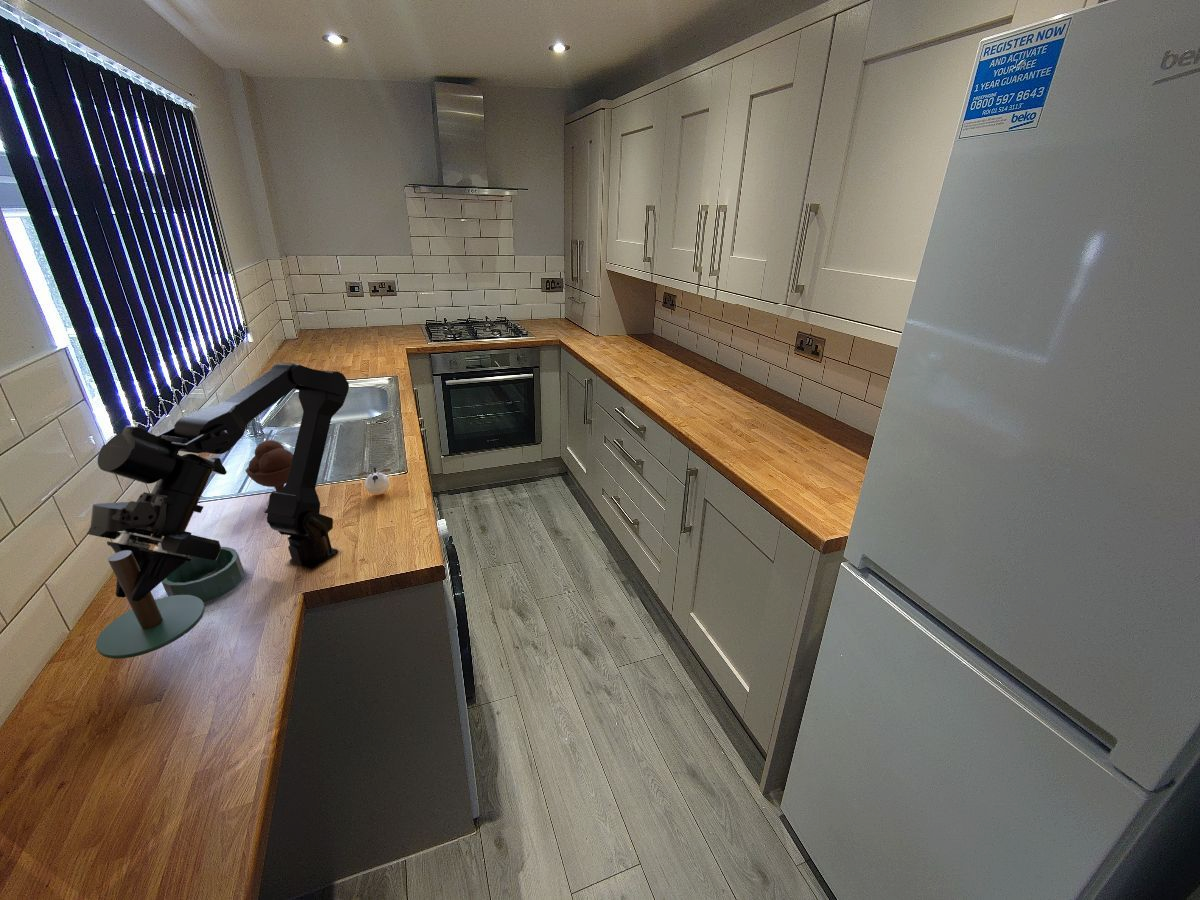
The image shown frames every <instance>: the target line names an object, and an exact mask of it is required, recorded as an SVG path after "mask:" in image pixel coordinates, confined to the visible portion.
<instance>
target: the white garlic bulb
mask: <svg viewBox="0 0 1200 900" xmlns="http://www.w3.org/2000/svg"><path fill="white" fill-rule="evenodd" d="M372 469H373V473H372V472H367V471H363V472H360V473H358V474H357V477H361V476H365V475H368V476H367V477H366V478H365V482H364V483H365V484H364V487H365V489H366V491H367V492H368V493H369V494H371V495H374V496H379V495H383V494H385V493H386V492H387V491H388V489H389V488H390V479H389V477H388V476H387V475H386V474H385V473H388V472H392V471H391V469H390V468H384V469H382V470H380V471H377V467H372Z"/></svg>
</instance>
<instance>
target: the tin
mask: <svg viewBox="0 0 1200 900" xmlns="http://www.w3.org/2000/svg"><path fill="white" fill-rule="evenodd" d="M188 558H192V560H191V562H189V561H187V562H186V563H184V564H183V565H182V566H180V567H179V568H178V569H177V570H175V571H174V572H173V573H171V574H170V575H169V576H168V577H166V578H165V579H164V580H163V581H162V582H161V584H162V586H163V589H164V591H165V593H166V595H167V596H166V597H168V596H174V595H193V596H196V597H198V598H200V599H201V600H202V601H203V603H204V604H205V603H208V602H210V601H213V600H215V599H217V598H220V597H222V596H225V594H227V593H229V592H230V591H232V590H234V589H235V588H236V587H237V586H238V585H239V584H240V583H242V581H243V580H244V578H245V574H246V572H245V569H244V566H243V564H242V561H241V559H240V555H239V553H238V552H237V550H236V549H235V548H233V547H229V546H221V551H220V553H219V555H218V557H217V560H210V559H205V558H200V557H195V556H190V555H189V556H188ZM217 569H219V571H217V572H214V573H213V574H211V575H208V574H210V573H211V572H213V571H215V570H217ZM206 575H208V576H206Z"/></svg>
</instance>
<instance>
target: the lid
mask: <svg viewBox="0 0 1200 900" xmlns="http://www.w3.org/2000/svg"><path fill="white" fill-rule="evenodd" d="M107 561H108V563H109V565H110V567H111V569H112V571H113V574H114V575H115V576H114V577H116V581H117V580H118V582H119V584H120V586H121V588H122V590H123V592H124V594H125V596H126V597H125V598H126V600H127V602H128V604H129V606H130V608H131V609H130V610H128V611H126V612H124V613H123V614H121V615H120V616H118V617H116V618H115V619H114V620H113V621H111V622H110V623H109V624H108V625H107V626H106V627H104V629H103V630H101V632H100V634H99V635H98V637H97V638H96V642H95V648H96V650H97V652H98V653H99V654H100V655H101V656H102V657H104V658H107V659H112V660H113V659H116V660H119V659H129V658H135V657H140V656H142V655H147V654H149V653H152V652H154V651H158V650H159V649H162V648H164V647H166V646H168V645H170V644H172V643H173V642H176V641H177V640H179V639H181V638H182V637H183V636H185V635H186V634H188V633H189V632H190V631H191V630H193V629H194V628H195V627H196V626H197V625H198V624H199V622H200V621H201V620H202V618H203V617H204V615H205V611H206V606H205V602H204V603H203V601H202V600H201V599H200V598H198V597H196V596H193V595H174V596H165V597H160V598H157V599H155V598H154V596H153V594H152V591H150V592H149V593H148V594H147V595H146V596H145V597H144V598H142V599H141V600H140V601H133V600H131V596H132V592H133V589H134V586H135V583H136V581H137V578H138V576H139V573H140V568H139V565H138V563H137V561H136V559H135V557H134V555H133V553H132V551H130V550H124V551H120V552H117V553H115V552H114V553H113V554H111V555H110V556H108V558H107Z"/></svg>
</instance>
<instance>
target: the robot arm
mask: <svg viewBox="0 0 1200 900" xmlns="http://www.w3.org/2000/svg"><path fill="white" fill-rule="evenodd" d="M349 389H350V384H349V381H348V380H347V377H346V376H345V375H344V374H343V373H342V372H340V371H335V370H322V369H315V368H310V367H307V366H304V365H301V364H300V363H295V362H293V363H292V362H278V363H276V364H273V365H272V366H271V369H270V370H268V371H266V372H264V373H263V374H262V375H261V376H259V377H258V378H256V379H255V380H253V381H251V383H249V384H247V385H246V386H245V387H242V389H240V390H239V391H237V392H236V393H234V394H233V395H231V396H230V397H228V398H227V399H225V400H224V401H222V402H220V403H217V404H214V405H210V406H206V407H203V408H199V409H197V410H195V411H193V412H190V413H187V414H186V415H184V416H182V417H180V418H179V419H177V421H176V422H175V423H174V425H173V426H172V427H170V428H168V429H166V430H165V431H163V432H161V433H159V434H157V435H155V434H154V433H151V432H149V431H148V430H147V429H145V428H141V427H139V426H134V425H125V426H124V428H123V430H122V432H120V433H118V434H116V435H114V436H113V437H111V438H110V439H109V440H108V441H107V442H106V443H105V444H103V445H102V446H101V448H100V450H99V452H98V455H97V466H98V468H99V469H100V470H101V471H103V472H106V473H110V474H113V475H116V476H118V477H119V476H120V477H123V478H127V479H130V480H133V481H136V482H140V483H143V484H146V485H148V484H149V485H150V484H154V483H155V485H154V487H153V488H152V491H151V492H143V493H141V494H140V495H139V496H138V498H137V500H136V501H135V500H130V501H118V502H104V503H102V502H101V503H93V504H92V509H91V519H90V520H91V521H90V527H89V528H88V531H87V532H86V535H90V536H94V537H99V538H105V539H109V540H110V539H111V540H113V541H106V545H107V546H109V547H111V549H112V550H113V552H114V554H115V553H117V552H120V551H124V550H130V551H132V553H133V555H134V557H135V559H136V561H137V563H138V565H139V568H140V573H139V576H138V578H137V581H136V583H135V586H134V589H133V592H132V596H131V600H133V601H140V600H141V599H142V598H144V597H145V596H146V595H147V594H148V593H149V592H150V591H151V592H152V591H153V590H154V589H155V588H156V587H157V586H159V585H160V584H162V581H163V580H164V579H165V578H166V577H168V576H169V575H170V574H171V573H173V572H174V571H175V570H177V569H178V568H179V567H180V566H182V565H183V564H184V563H186V562H187V561H189V562H191V560H192V558H188V556H189V555H190V556H195V557H200V558H205V559H210V560H217V557H218V555H219V553H220V551H221V547H222V546H221V544H220V541H219V540H216V539H212V538H208V537H203V536H199V535H196V534H192V532H190V531H186V530H187V528H188V525H189V523H190V522H191V519H192V518H193V514H194V513H199V514H201V513H202V511H203V509H204V506H203V505H199V504H198V503H200V499H201V497H202V495H203V494H204V491H205V489H206V486H207V484H208V482H209V480H210V477H211V475H212V474H216V475H221V476H222V475H223V476H225V475H227V473H228V471H227V469H226V468H225V466H224V465H223V463H222V460H221V458H220V457H214V456H208V457H202V456H201V455H199V454H203V453H206V454H212V455H213V454H214V455H223V454H225V453H228V452H229V451H230V450H231V449H232V448H233V447H234V446H236V444H237V443H238V442H239V441H240V439H241V438H242V437H243V436H244V435H245V431H246V428H247V426H248V425H249V424H250V423H251V422H252V421H253V420H254V419H256V418H257V417H259V415H261V414H263V412H266V410H268V409H269V408H270V407H272V406H273V405H274V404H276V403H277V402H278V401H279V400H280V399H281V400H282V398H283V397H285V396H286V395H287V394H289V393H290V392H291V391H292V390H297V391H298V400H299V403H300V406H301V408H302V410H303V412H302V417H301V421H300V424H299V428H298V429H299V430H298V434H297V439H296V442H295V446H294V451H293V453H292V454H293V458H292V462H291V466H290V470H289V475H288V479H287V483H285V484H284V486H283V488H282V489H281V490H280V491H279V492H276V491H271V493H270V495H269V498H268V504H267V506H266V510H265V511H264V514H266V523H267V524H268V525H269V527H270V528H271V529H272V530H274V531H277V532H278V533H279V534H280V535H281V536H288V537H287V541H288V546H287V548H288V551H289V555H290V559H289V561H288V562H289V563H290V564H292V565H294V566H298V567H301V568H306V569H308V570H314V569H316V568H317V567H319V566H320V565H322V564H323V563H325V562H326V561H328V560H329V559H331V558H332V557H333V556H336V555H337V554H338V553H339V550H338V549H337V548H333V547H332V543H331V540H330V536H329V532H330V531H331V530H333V528H334V518H333V517H331V516H327V515H324V514H322V513H320V511H321V501H320V498H319V496H318V493H317V490H316V487H317V483H318V478H319V474H320V469H321V466H322V460H323V456H324V451H325V447H326V443H327V439H328V434H329V430H330V425H331V421H332V418H333V417H334V416H335V415H336V414H337V412H338V411H340V409H341V408H342V407H343V406H344V404H345V401H346V398H347V395H348V393H349ZM179 452H185V453H186V454H183V455H181V454H179ZM197 454H198V455H197ZM151 545H155V546H154V547H153V549H150V547H151ZM115 585H116V587H115V588H116V589H115V597H117V598H126V596H125V594H124V592H123V590H122V588H121V586H120V584H119V582H118V580H117V579H116V584H115Z"/></svg>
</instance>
